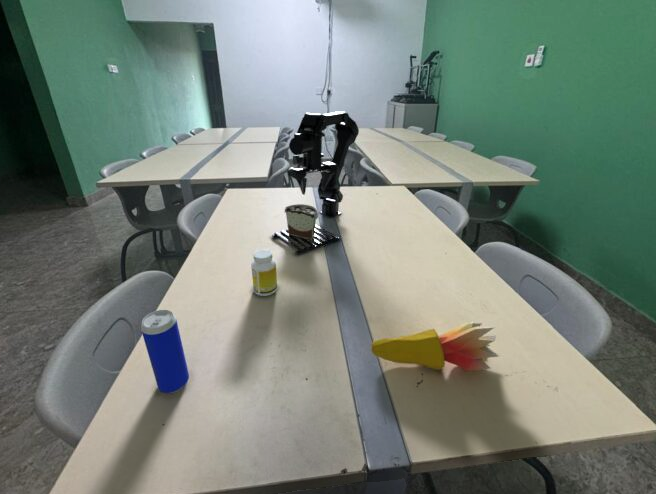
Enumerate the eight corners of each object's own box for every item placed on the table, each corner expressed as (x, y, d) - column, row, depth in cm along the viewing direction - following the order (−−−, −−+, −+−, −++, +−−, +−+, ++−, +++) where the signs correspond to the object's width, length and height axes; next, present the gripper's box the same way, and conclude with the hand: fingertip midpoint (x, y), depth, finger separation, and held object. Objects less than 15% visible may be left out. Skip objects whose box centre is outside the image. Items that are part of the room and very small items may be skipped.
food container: (323, 233, 113) (324, 207, 109) (315, 240, 108) (316, 213, 104) (294, 226, 117) (293, 201, 113) (285, 233, 112) (284, 207, 108)
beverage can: (165, 371, 60) (148, 308, 54) (193, 370, 61) (179, 307, 54) (153, 396, 55) (133, 330, 49) (183, 394, 56) (167, 329, 50)
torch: (372, 368, 67) (491, 357, 66) (376, 385, 59) (511, 373, 58) (368, 329, 67) (486, 318, 67) (371, 340, 59) (505, 327, 59)
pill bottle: (281, 285, 86) (279, 250, 82) (269, 299, 81) (267, 262, 76) (261, 281, 88) (258, 246, 83) (249, 293, 83) (245, 257, 78)
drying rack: (312, 224, 123) (312, 221, 123) (339, 240, 112) (339, 236, 112) (272, 237, 112) (272, 233, 112) (297, 255, 101) (297, 251, 101)
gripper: (320, 144, 124) (320, 182, 130) (279, 149, 113) (280, 191, 119) (339, 149, 116) (337, 189, 123) (296, 155, 105) (297, 199, 111)
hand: (313, 192), depth 119 cm, fingers open, 9 cm apart
